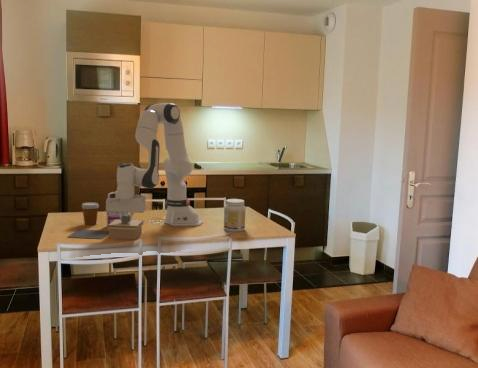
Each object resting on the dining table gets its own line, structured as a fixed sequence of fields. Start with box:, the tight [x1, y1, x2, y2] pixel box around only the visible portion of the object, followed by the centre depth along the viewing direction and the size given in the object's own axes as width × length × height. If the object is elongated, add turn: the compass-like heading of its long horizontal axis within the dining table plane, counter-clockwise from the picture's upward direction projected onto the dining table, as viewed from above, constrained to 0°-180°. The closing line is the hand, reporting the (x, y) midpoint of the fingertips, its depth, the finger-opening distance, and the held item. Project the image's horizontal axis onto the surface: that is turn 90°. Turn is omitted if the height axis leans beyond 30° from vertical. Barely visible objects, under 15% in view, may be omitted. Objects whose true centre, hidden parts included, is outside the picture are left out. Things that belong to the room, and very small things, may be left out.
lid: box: [106, 213, 144, 230], centre depth 256 cm, size 15×13×6 cm
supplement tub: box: [223, 198, 247, 233], centre depth 277 cm, size 12×12×17 cm
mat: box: [67, 228, 109, 240], centre depth 258 cm, size 18×16×1 cm
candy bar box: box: [105, 197, 129, 226], centre depth 275 cm, size 11×5×16 cm, turn 118°
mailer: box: [108, 225, 143, 240], centre depth 257 cm, size 14×12×6 cm
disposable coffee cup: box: [81, 201, 100, 227], centre depth 278 cm, size 10×10×12 cm
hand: (125, 220), depth 256 cm, fingers closed on lid, 3 cm apart
